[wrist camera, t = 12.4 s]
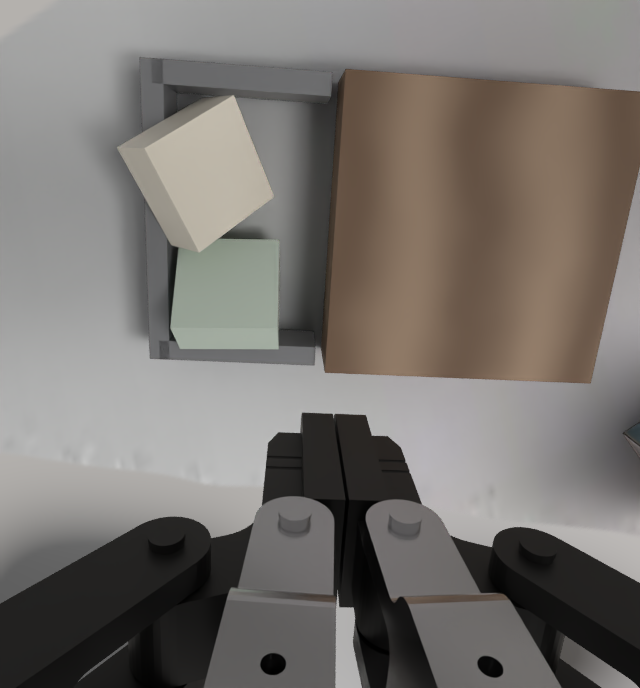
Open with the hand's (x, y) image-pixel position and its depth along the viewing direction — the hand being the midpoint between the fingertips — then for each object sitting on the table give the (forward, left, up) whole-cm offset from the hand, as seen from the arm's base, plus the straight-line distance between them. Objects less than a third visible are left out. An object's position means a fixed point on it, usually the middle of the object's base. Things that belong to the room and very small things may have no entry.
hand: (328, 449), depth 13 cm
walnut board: (-8, -3, -19) cm, 20 cm away
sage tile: (+4, +1, -17) cm, 17 cm away
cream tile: (+6, -6, -16) cm, 18 cm away
